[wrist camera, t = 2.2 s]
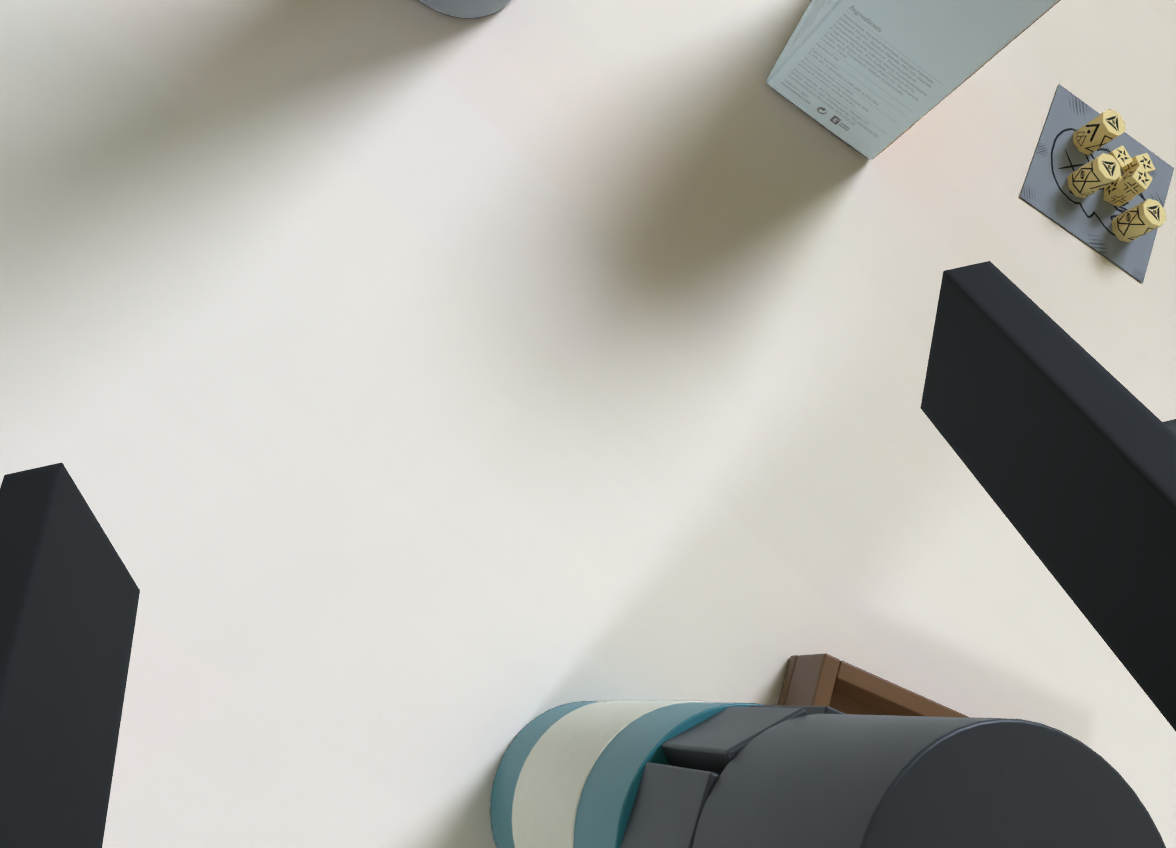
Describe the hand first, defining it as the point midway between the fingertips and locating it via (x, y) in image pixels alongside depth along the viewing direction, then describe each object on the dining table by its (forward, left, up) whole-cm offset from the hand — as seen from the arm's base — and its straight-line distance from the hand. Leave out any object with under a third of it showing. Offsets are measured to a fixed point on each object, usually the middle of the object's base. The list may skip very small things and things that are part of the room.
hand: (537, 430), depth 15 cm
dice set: (+26, +33, -21) cm, 47 cm away
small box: (+11, +31, -21) cm, 39 cm away
